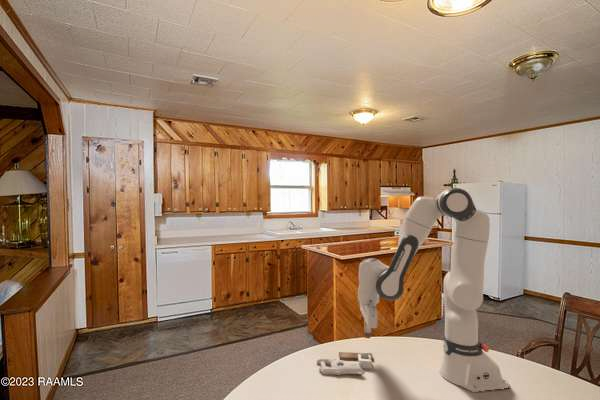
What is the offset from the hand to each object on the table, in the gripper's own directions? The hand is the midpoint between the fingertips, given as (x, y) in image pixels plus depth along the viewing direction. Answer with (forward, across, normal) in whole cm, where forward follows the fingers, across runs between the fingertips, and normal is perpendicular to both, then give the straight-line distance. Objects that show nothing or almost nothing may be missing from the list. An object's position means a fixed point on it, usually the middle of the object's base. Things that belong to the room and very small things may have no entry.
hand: (367, 329), depth 122 cm
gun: (+13, -9, +12) cm, 20 cm away
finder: (+12, -5, +2) cm, 13 cm away
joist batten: (+12, 0, +5) cm, 13 cm away
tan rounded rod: (+3, 0, 0) cm, 3 cm away
